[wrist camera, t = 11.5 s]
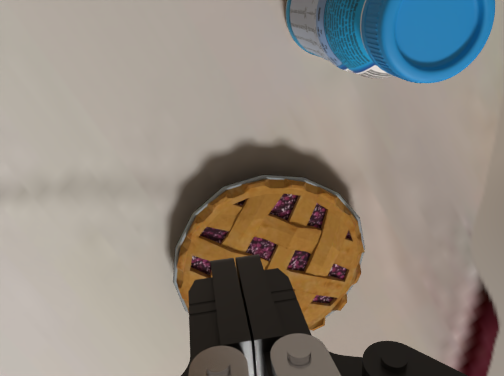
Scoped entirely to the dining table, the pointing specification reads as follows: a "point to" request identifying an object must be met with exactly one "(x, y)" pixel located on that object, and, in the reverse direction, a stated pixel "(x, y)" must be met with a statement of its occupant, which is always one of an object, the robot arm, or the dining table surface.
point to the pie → (278, 239)
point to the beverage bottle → (393, 35)
